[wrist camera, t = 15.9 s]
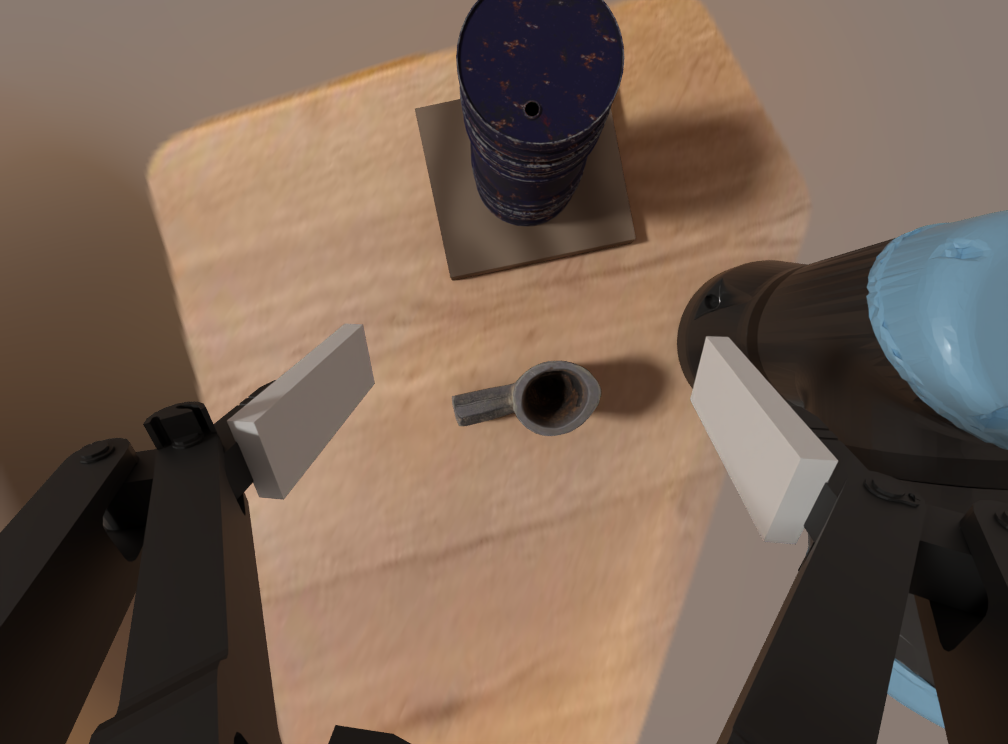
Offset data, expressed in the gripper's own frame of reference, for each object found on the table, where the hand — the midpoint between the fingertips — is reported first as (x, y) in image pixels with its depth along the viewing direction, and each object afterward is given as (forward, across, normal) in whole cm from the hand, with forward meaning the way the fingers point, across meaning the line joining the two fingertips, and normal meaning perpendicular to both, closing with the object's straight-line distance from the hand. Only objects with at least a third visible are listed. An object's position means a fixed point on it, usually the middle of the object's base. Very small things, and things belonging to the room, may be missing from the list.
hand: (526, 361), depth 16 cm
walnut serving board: (+29, -2, +4) cm, 30 cm away
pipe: (+20, -2, -15) cm, 25 cm away
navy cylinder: (+28, -2, +5) cm, 29 cm away
